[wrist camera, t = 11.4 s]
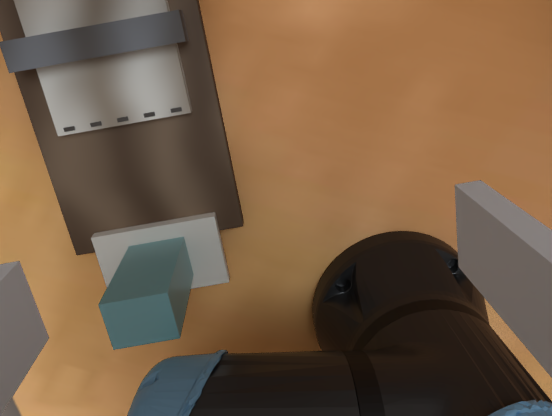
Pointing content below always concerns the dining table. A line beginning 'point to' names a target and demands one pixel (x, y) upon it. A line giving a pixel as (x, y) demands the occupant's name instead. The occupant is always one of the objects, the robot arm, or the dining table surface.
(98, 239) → the teal cube on panel
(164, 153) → the board
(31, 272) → the dining table surface
